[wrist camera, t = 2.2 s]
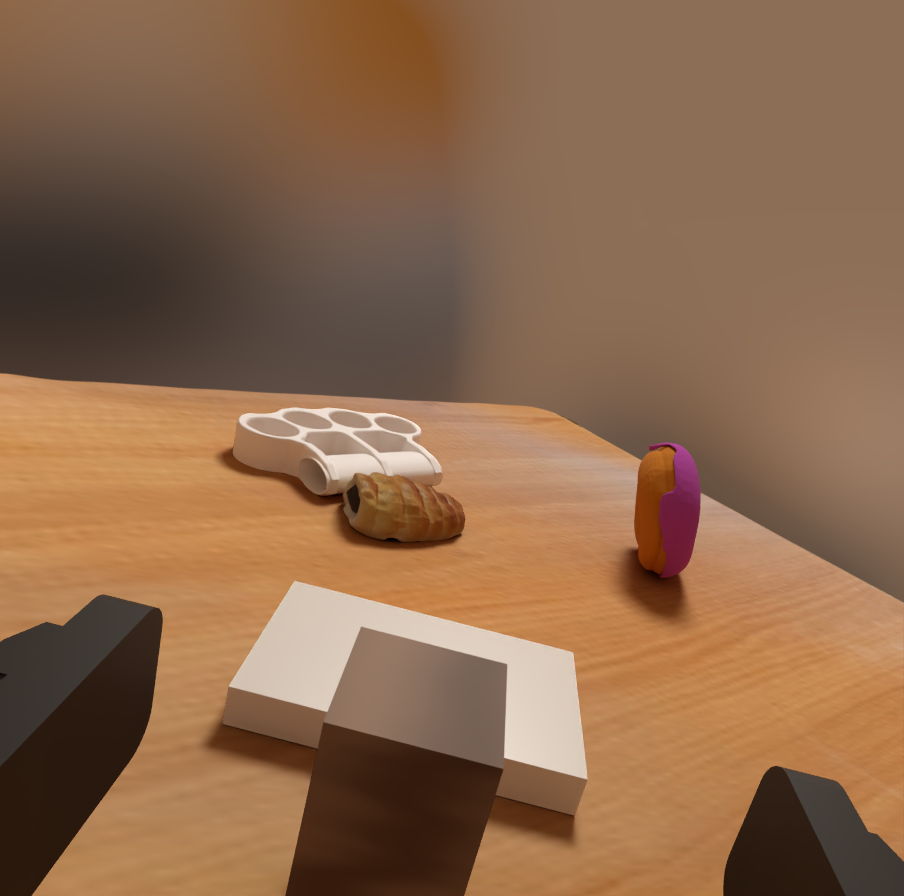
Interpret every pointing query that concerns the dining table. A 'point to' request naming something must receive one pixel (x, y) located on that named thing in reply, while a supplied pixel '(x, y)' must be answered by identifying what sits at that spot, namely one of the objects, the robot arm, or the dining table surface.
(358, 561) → the dining table surface
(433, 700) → the walnut block
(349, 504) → the pastry
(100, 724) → the robot arm
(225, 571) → the dining table surface
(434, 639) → the plastic platform
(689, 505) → the donut
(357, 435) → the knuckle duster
